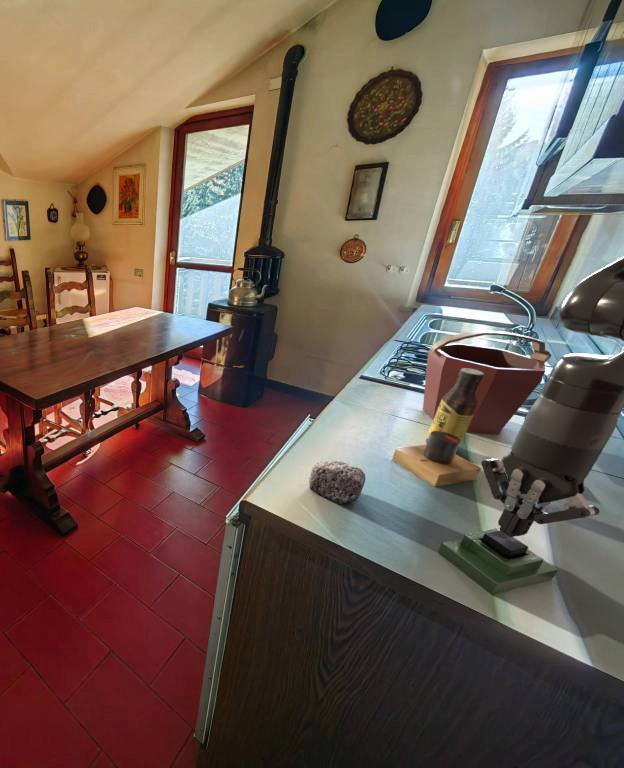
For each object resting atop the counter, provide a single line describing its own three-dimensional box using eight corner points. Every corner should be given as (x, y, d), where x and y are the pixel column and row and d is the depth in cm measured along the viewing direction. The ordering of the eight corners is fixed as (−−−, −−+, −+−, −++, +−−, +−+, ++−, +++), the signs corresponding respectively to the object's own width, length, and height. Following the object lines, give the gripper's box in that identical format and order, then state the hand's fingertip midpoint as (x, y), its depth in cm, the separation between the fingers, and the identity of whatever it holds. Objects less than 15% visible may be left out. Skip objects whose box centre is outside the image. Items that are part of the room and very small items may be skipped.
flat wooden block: (430, 454, 91) (434, 442, 89) (476, 479, 82) (481, 467, 80) (391, 459, 88) (396, 447, 87) (434, 486, 79) (439, 473, 78)
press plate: (497, 538, 62) (502, 529, 61) (524, 555, 58) (529, 546, 58) (480, 541, 61) (484, 533, 60) (506, 559, 58) (511, 550, 57)
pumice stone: (329, 485, 83) (294, 481, 79) (345, 454, 81) (310, 448, 77) (372, 517, 74) (335, 514, 70) (392, 482, 72) (354, 478, 68)
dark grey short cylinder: (417, 453, 85) (425, 431, 83) (433, 449, 87) (442, 428, 85) (440, 465, 81) (449, 443, 79) (457, 462, 82) (467, 439, 80)
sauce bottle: (421, 438, 98) (449, 363, 90) (452, 444, 95) (484, 368, 87) (428, 450, 92) (458, 372, 85) (461, 457, 90) (495, 377, 82)
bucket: (511, 416, 110) (551, 330, 100) (536, 452, 92) (588, 352, 83) (405, 396, 122) (432, 317, 112) (411, 424, 104) (443, 334, 95)
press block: (493, 540, 66) (503, 522, 64) (552, 580, 59) (564, 560, 57) (437, 552, 63) (445, 533, 62) (491, 595, 56) (502, 574, 55)
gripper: (655, 456, 47) (584, 563, 53) (525, 408, 59) (481, 501, 65) (611, 463, 45) (544, 573, 52) (487, 412, 57) (445, 507, 64)
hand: (509, 532), depth 58 cm, fingers closed
